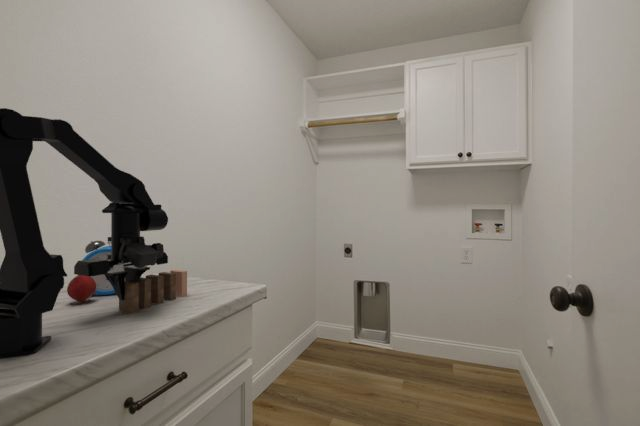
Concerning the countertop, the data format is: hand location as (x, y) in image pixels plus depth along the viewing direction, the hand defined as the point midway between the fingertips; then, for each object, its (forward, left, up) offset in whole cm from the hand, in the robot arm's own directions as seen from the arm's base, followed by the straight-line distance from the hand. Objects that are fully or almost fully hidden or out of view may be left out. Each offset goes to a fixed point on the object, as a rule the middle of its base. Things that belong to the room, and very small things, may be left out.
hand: (125, 299), depth 72 cm
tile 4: (+8, -8, -3) cm, 12 cm away
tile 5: (+11, -11, -3) cm, 15 cm away
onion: (+11, +12, -3) cm, 17 cm away
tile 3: (+5, -5, -3) cm, 8 cm away
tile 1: (-1, -1, -3) cm, 3 cm away
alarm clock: (+19, +8, -3) cm, 21 cm away
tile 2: (+3, -3, -3) cm, 5 cm away
